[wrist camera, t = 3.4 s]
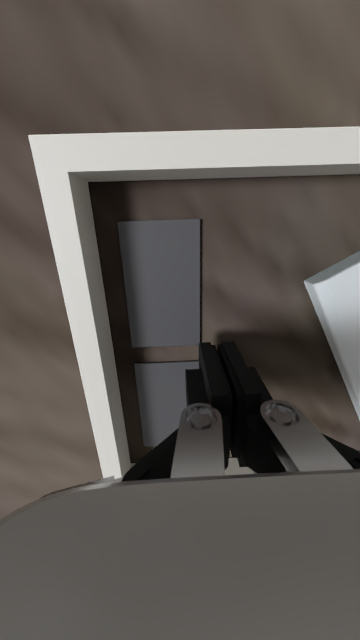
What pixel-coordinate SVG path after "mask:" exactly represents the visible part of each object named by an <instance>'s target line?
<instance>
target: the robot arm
mask: <svg viewBox="0 0 360 640" xmlns="http://www.w3.org/2000/svg"><path fill="white" fill-rule="evenodd" d="M185 381H186V402H187V407H186V408H185V409H184V410H183V411H182V413H181V416H180V422H179V428H178V429H176V430H175V431H174V432H173V433H172V434H170V435H169V436H168V437H167V438H166V439H165V440H163V441H162V442H161V443H160V444H159V445H157V446H156V447H155V448H154V449H153V450H151V451H150V452H149V453H148V454H147V455H146V456H144V457H143V458H142V459H141V460H140V461H138V462H137V463H136V464H135V465H134V466H133V467H131V468H130V469H129V470H128V471H127V473H126V474H125V475H124V477H121V478H117V479H114V476H110V477H107V478H103V479H99V480H96V481H92V482H88V483H84V484H81V485H77V486H73V487H70V488H66V489H62V490H59V491H55V492H52V493H49V494H47V495H45V496H43V497H42V498H40V499H39V500H36V501H34V502H32V503H29V504H27V505H25V506H23V507H21V508H19V509H17V510H15V511H14V512H12V513H10V514H9V515H7V516H5V517H4V518H2V519H1V520H0V640H360V452H359V451H357V450H355V449H353V448H351V447H348V446H346V445H344V444H342V443H340V442H338V441H336V440H334V439H332V438H330V437H328V436H326V435H324V434H322V433H320V431H319V430H318V429H317V428H316V427H315V426H314V425H313V424H312V423H311V422H310V421H309V419H308V418H307V417H306V416H305V415H304V414H303V413H302V412H301V411H300V410H299V409H298V408H297V407H296V406H294V405H292V404H291V403H288V402H285V401H282V400H273V399H272V397H271V395H270V394H269V392H268V390H267V388H266V387H265V385H264V383H263V381H262V380H261V378H260V376H259V375H258V373H257V371H256V369H255V368H254V367H247V365H246V363H245V362H244V360H243V358H242V356H241V354H240V352H239V350H238V348H237V347H236V345H235V343H234V341H231V342H222V344H221V345H218V348H217V349H216V347H215V345H211V343H210V342H206V343H199V369H186V370H185ZM230 450H231V454H232V457H233V458H237V460H238V463H239V467H248V468H250V469H251V470H253V474H240V475H225V470H226V469H227V467H228V462H229V454H230Z"/></svg>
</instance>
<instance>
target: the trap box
mask: <svg viewBox="0 0 360 640" xmlns="http://www.w3.org/2000/svg"><path fill="white" fill-rule="evenodd" d="M28 136H29V141H30V145H31V150H32V155H33V159H34V164H35V168H36V173H37V177H38V182H39V187H40V191H41V196H42V200H43V205H44V209H45V214H46V218H47V223H48V228H49V232H50V237H51V241H52V246H53V250H54V255H55V259H56V264H57V269H58V273H59V278H60V282H61V287H62V291H63V296H64V301H65V305H66V310H67V314H68V319H69V323H70V328H71V332H72V337H73V342H74V346H75V351H76V355H77V360H78V364H79V369H80V373H81V378H82V383H83V387H84V392H85V396H86V401H87V405H88V410H89V415H90V419H91V424H92V428H93V433H94V437H95V442H96V446H97V451H98V456H99V460H100V465H101V469H102V474H103V478H107V477H110V476H114V479H117V478H121V477H124V475H125V474H126V473H127V471H128V470H129V469H130V468H131V467H133V466H134V465H135V464H136V463H131V462H130V456H129V449H128V443H127V436H126V430H125V423H124V416H123V410H122V403H121V397H120V390H119V384H118V377H117V370H116V364H115V357H114V351H113V344H112V338H111V331H110V324H109V318H108V311H107V305H106V298H105V291H104V285H103V278H102V272H101V265H100V259H99V252H98V245H97V239H96V232H95V226H94V219H93V213H92V206H91V199H90V193H89V186H88V182H106V181H140V180H175V179H209V178H243V177H277V176H311V175H345V174H360V127H323V128H284V129H245V130H206V131H167V132H128V133H89V134H50V135H28ZM117 225H118V233H119V242H120V250H121V258H122V267H123V275H124V284H125V292H126V301H127V309H128V317H129V326H130V334H131V343H132V348H135V347H158V346H182V345H199V343H200V219H182V220H152V221H121V222H117ZM134 368H135V376H136V385H137V393H138V402H139V410H140V419H141V427H142V435H143V444H144V447H152V446H157V445H159V444H160V443H161V442H162V441H163V440H165V439H166V438H167V437H168V436H169V435H170V434H172V433H173V432H174V431H175V430H176V429H178V428H179V422H180V416H181V413H182V411H183V410H184V409H185V408H186V407H187V402H186V381H185V370H186V369H199V360H198V361H175V362H152V363H134ZM240 474H253V470H251V469H250V468H248V467H239V463H238V460H237V458H229V462H228V467H227V469H226V470H225V475H240Z"/></svg>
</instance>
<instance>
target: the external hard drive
mask: <svg viewBox="0 0 360 640" xmlns="http://www.w3.org/2000/svg"><path fill="white" fill-rule="evenodd" d="M304 284H305V286H306V288H307V291H308V293H309V296H310V298H311V301H312V303H313V306H314V308H315V311H316V313H317V316H318V318H319V321H320V323H321V325H322V328H323V330H324V333H325V335H326V338H327V340H328V343H329V345H330V348H331V350H332V353H333V355H334V358H335V360H336V363H337V365H338V368H339V370H340V373H341V375H342V378H343V380H344V383H345V385H346V388H347V390H348V393H349V395H350V398H351V400H352V403H353V405H354V408H355V410H356V413H357V415H358V418H359V420H360V251H358V252H356V253H355V254H353V255H351V256H349V257H347V258H345V259H344V260H342V261H340V262H338V263H336V264H334V265H332V266H331V267H329V268H327V269H325V270H323V271H321V272H319V273H318V274H316V275H314V276H312V277H310V278H308V279H306V280H305V281H304Z"/></svg>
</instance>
